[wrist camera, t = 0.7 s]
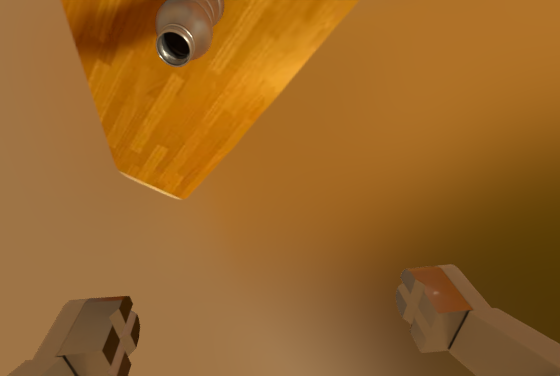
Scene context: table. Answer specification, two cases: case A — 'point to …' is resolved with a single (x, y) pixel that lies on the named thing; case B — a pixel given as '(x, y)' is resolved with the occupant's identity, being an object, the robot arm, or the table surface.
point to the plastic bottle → (186, 29)
